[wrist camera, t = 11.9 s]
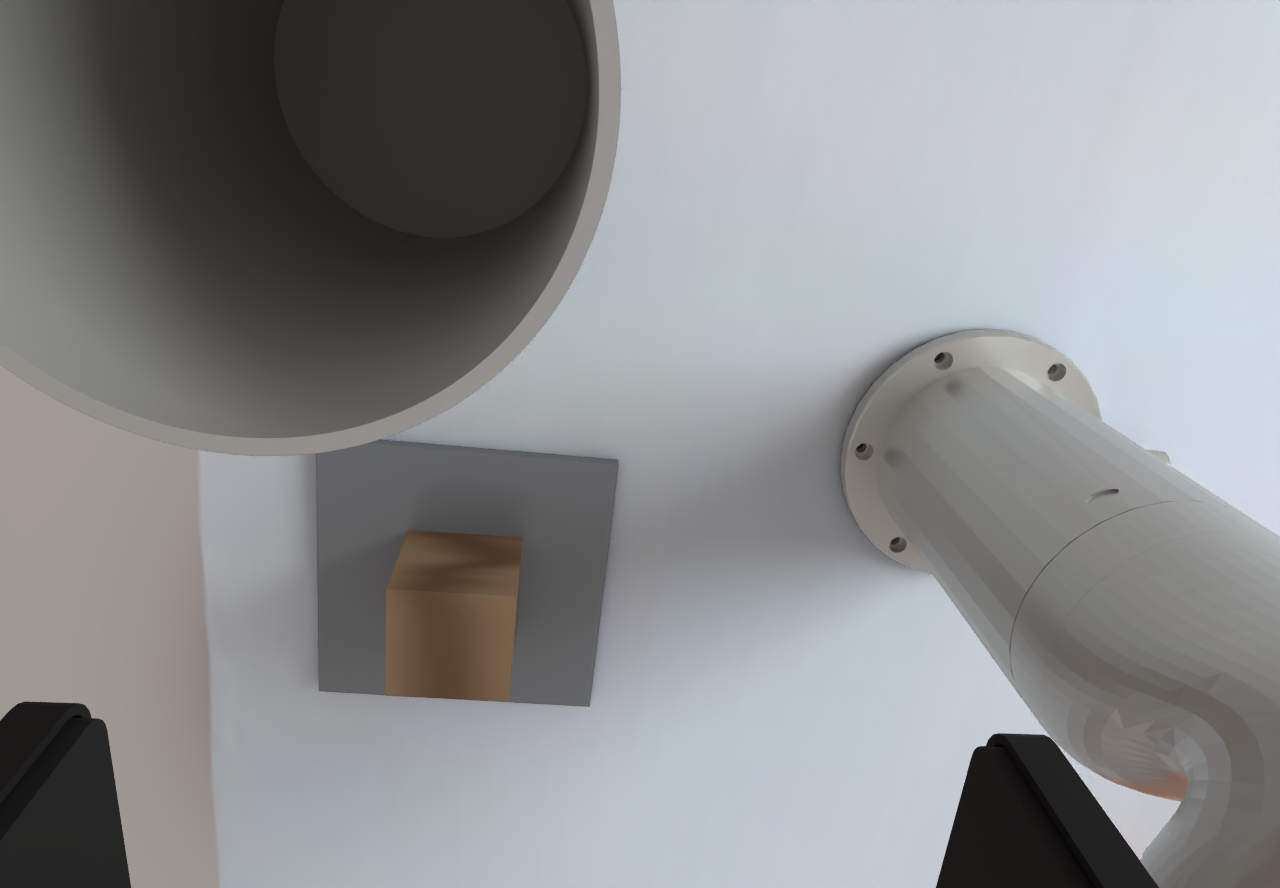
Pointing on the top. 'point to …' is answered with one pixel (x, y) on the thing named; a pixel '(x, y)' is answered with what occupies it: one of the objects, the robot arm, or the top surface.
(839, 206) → the top surface
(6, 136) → the cylinder vase
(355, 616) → the slate coaster
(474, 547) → the walnut block
